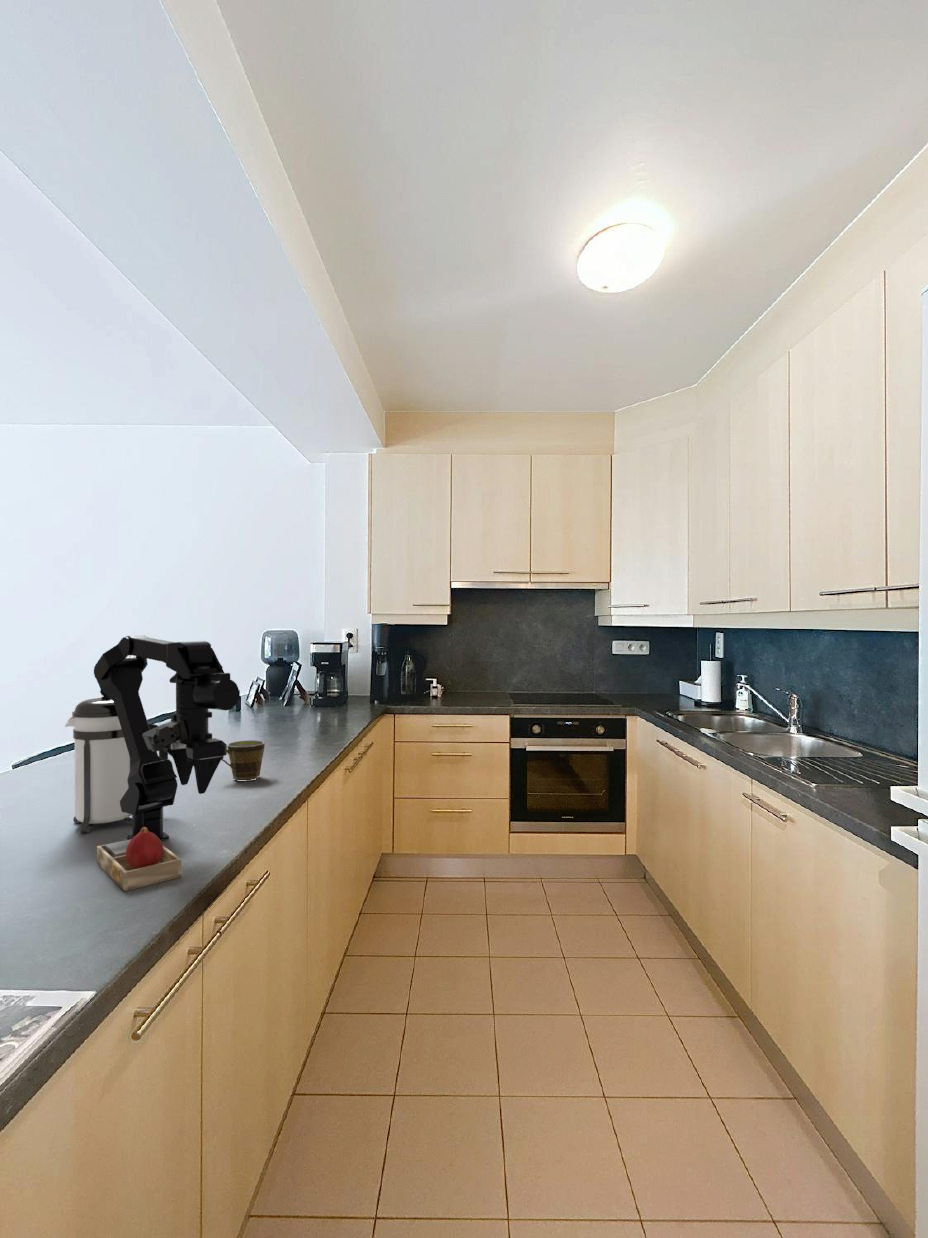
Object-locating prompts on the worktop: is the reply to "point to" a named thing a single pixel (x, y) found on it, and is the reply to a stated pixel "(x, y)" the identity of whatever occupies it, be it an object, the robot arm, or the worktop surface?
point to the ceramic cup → (245, 759)
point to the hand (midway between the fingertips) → (192, 789)
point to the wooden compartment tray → (130, 878)
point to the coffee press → (100, 763)
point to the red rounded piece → (144, 849)
